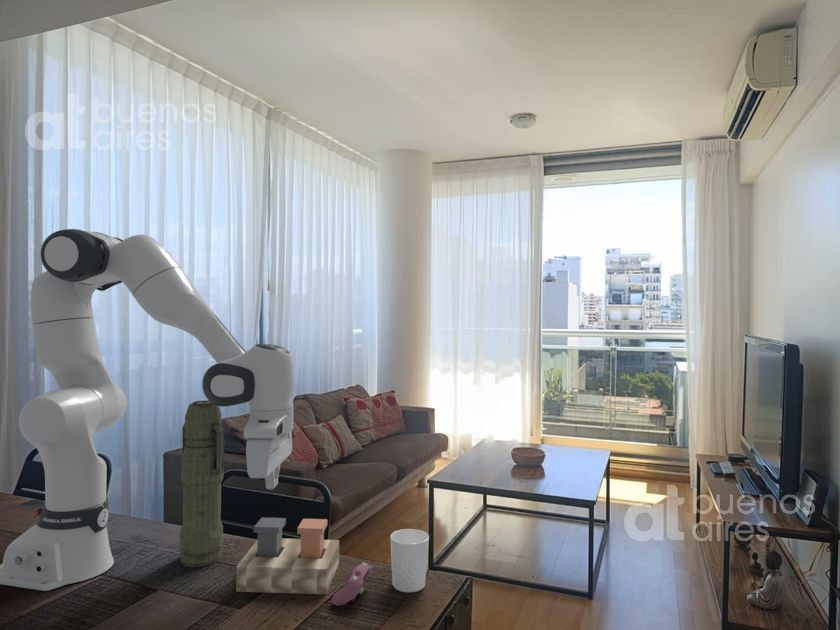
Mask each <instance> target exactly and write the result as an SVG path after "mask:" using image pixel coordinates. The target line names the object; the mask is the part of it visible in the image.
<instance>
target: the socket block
mask: <svg viewBox="0 0 840 630" xmlns="http://www.w3.org/2000/svg"><path fill="white" fill-rule="evenodd" d="M300 555H301V538H283V537H282V551H281V552H280V554H279V555H278V557H257V540H256V541H255V542H254V543H253V545H252V546H251V547H250V548H249V550H248V551H247V553H245V555H244V556H243V558H242V559H241V560H240V561H239V563H238V564H237V565H236V575H235V576H236V582H235V583H236V586H235V591H236V592H239V593H241V592H242V593H248V592H249V593H269V594H271V593H272V594H273V593H274V594H302V595H303V594H304V595H306V594H307V595H327V594H328V592H329V589H330V587H331V585H332V581H333V580H334V577H335V574H336V571H337V569H338V566H339V563H340V539H324V552H323V554H322V556H321V558H320V559H315V558H300Z"/></svg>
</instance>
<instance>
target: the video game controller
mask: <svg viewBox="0 0 840 630" xmlns="http://www.w3.org/2000/svg"><path fill="white" fill-rule="evenodd" d="M373 567H374V566H373V565H370V564H368V563H365V562H364V561H362V562H361V563H360V564H358V565H357V566H355V567H354V568H353V570H352V571H350V572H349V573H348V574H347V575H346V577H345V582H346V584H345V585H344V586H342V588H340V589H339V590H337V591H336V592H335V593H333V595H332V597H331V603H332V604H333V605H334V606H338V607H339V606H343V605H345V604H347V603H349V602H350V601H353V602H354V601H355V599H356V597H357V595H358V594H360V595H362V594H363V593H364V590H365V589H364V584H365V583H366V580H367V579H368V578H369V577H370V575H371V571H372V570H373Z"/></svg>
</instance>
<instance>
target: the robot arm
mask: <svg viewBox="0 0 840 630" xmlns="http://www.w3.org/2000/svg"><path fill="white" fill-rule="evenodd" d="M40 261H41V264H42V266H43V267H44V269H45V271H44V272H42V273H40V274H38V275H36V276H35V278H34V279H33V281H32V284H31V292H30V314H31V323H32V324H31V325H32V330H33V336H34V342H35V349H36V356H37V360H38V362H39V364H40V365H41V366H42V367H44V368H45V369H46V370H48V371H49V372H50V374H51V375H52V376H53V378H54V379H55V382H56V384H57V386H58V388H59V389H54V390H50V391H47V392H45V393H43V394H41V395H38V396H37V397H35V398H33V399H31V400H29V401H28V402H27V403H25V404H24V406H23V407H22V408H21V410H20V413H19V416H18V428H19V432H20V433H21V436H22V437H23V438H24V440H26V441H28V443H30V444H31V445H33V446H34V447H35V448H36V451H38V454H39V456H40V459H41V462H42V466H43V469H44V470H43V471H44V482H45V483H44V484H45V485H44V487H45V488H44V489H45V490H44V492H45V495H44V498H45V500H44V501H45V503H44V505H42V506H40V507H39V508H38V509H37V510H34V511H33V512H31V514H33V515H32V516H31V518H36V517H37V516H38V519H37V520H36V523H35V524H34V525H33V526H31V527H30V528H29V529H27V530H26V531H25V532H22V534H21V535H19V536H18V537H16V538H15V539H14V540H13V541H12V542H11V543H10V544H9V545H8V546H7V548H6V549H5V552H4V556H3V561H2V564H0V585H4V586H9V587H16V588H22V589H29V590H30V589H31V590H34V591H35V590H36V591H42V592H47V591H51V590H54V589H57V588H61V587H63V586H66V585H69V584H70V585H71V584H74V583H75V584H76V583H80V582H83V581H86V580H90V579H92V578H95V577H97V576H100V575H102V574H104V573H105V572H107V571H108V570H109V569H111V568H112V566H113V565H114V563H115V559H114V557H113V554H112V550H111V546H110V541H109V534H108V533H109V532H108V522H109V507H110V506H109V498H108V497H107V477H108V476H107V474H108V473H107V462H106V460H104V458H102V457H101V456H99V455H98V453H97V450H96V447H95V444H94V434H95V433H99V432H102V431H104V430H106V429H108V428H110V427H112V426H113V425H114V424H116V423H117V422H118V421H119V420H121V418H123V417H124V415H125V413H126V411H127V407H128V400H127V396H126V394H125V392H124V390H123V389H122V388H120V386H118V385H117V384H116V383H115V382H114V380H112V377H111V375H110V373H109V372H108V368H107V367H106V365H105V363H104V361H103V358H102V355H101V352H100V348H99V341H98V338H97V337H98V336H97V330H96V323H95V318H94V311H93V305H92V298H93V297H92V296H93V294H94V292H96V291H100V292H105V291H106V290H109V289H110V288H113V287H114V286H116V285H119V284H122V283H123V284H124V285H125V287H126V289H127V290H128V291H129V292H130V294H131V295H132V296H133V298H134V299H135V301H136V302H137V303H138V305H139V306H140V307H141V308H142V310H144V312H145V313H146V314H147V315H148V316H150V317H151V318H153V320H155V321H156V322H158V323H160V324H164V325H167V326H170V327H173V328H177V329H180V330H181V331H183V332H186V333H188V334H190V335H191V336H192V337H194V338H195V339H196V340H197V341H198V342H199V343H200V344H201V345H202V346H203V348H205V350H206V351H207V352H208V353H209V355H210V356H211V358H212V359H213V360H214V361H215V362H216V363H214V364H213V365H212V366H210V367H208V368H207V370H206V371H205V372H204V374H203V378H202V382H201V386H202V392H203V395H204V396H205V398H206V399H207V401H210V402H211V403H213V404H214V405H217V406H219V407H222V408H223V407H226V408H229V407H230V408H231V407H235V406H237V405H242V404H248V405H249V418H248V420H247V423H246V424H245V427H244V428H243V437H244V439H247V441H246V446H245V451H246V452H245V456H246V457H245V458H246V459H245V460H246V471H247V474H248V477H249V478H251V479H264V481H265V489H267V490H273V489H275V488H276V487H277V485H278V484H279V474H280V470H281V464H282V463H284V461H285V460H286V459H287V458H288V457H289V456H291V454H292V451H293V435H292V433H293V431H292V430H293V429H294V401H293V396H292V394H293V389H294V366H293V359H292V358H293V357H292V355H291V353H290V351H289V350H288V349H287V348H286V347H283V346H281V345H276V344H272V343H257V344H255V345H253V346H252V347H251V348H249V349H248V350H246V349H245V348H244V347H243V346H242V345H241V344H240V343H239V342H238V340H237V339H236V338H235V337H234V335H233V334H232V333H231V332H230V331H229V329H228V328H227V327H226V326H225V325H224V323H223V322H222V321H221V320H220V318H219V317H217V315H216V314H215V313H214V312H213V311H212V309H211V308H210V307H209V305H208V303H206V301H205V300H204V299H203V297H202V295H201V294H200V292H199V291H198V290H197V289H196V287H195V286H194V284H193V283H192V281H191V280H190V279H189V277H188V275H187V274H186V273H185V271H184V270H183V269H182V267H181V266H180V264H179V263H178V262H177V261H176V259H175V258H174V257H173V256H172V254H170V253H169V251H168V250H167V249H165V248H164V246H163V245H162V244H160V243H159V242H158V241H157V239H155V238H154V237H152V236H150V235H147V234H136V235H132V236H131V235H130V236H128V237H126V238H125V239H122V238H119V237H115V236H113V235H112V236H111V235H108V234H106V233H102V232H99V231H85V230H83V229H77V228H76V229H75V228H67V229H65V228H64V229H60V230H57V231H54V232H52V233H51V234H49V235H48V236H47V237H46V238H45V239H44V240H43V243H42V244H41V248H40Z"/></svg>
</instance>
